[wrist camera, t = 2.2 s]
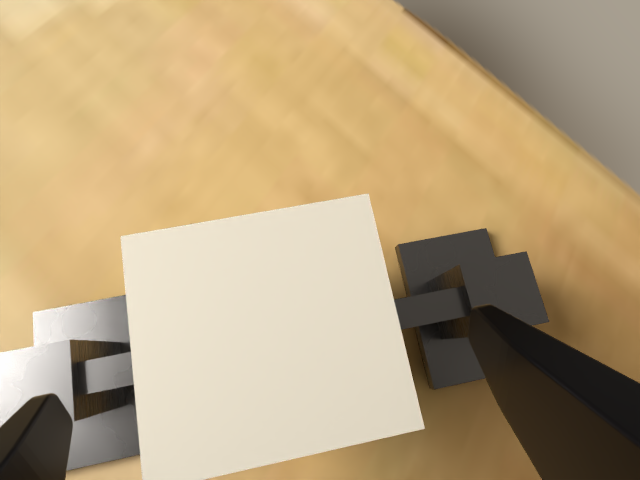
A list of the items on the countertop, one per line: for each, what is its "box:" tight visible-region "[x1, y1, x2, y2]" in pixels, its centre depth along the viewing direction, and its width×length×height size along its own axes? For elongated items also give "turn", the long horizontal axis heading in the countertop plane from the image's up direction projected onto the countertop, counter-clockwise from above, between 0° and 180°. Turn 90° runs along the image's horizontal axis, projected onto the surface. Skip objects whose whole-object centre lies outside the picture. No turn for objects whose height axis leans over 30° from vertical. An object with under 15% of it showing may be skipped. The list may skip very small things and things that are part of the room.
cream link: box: [121, 194, 425, 480], centre depth 13 cm, size 5×5×10 cm
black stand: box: [0, 228, 549, 470], centre depth 16 cm, size 6×19×4 cm, turn 102°
